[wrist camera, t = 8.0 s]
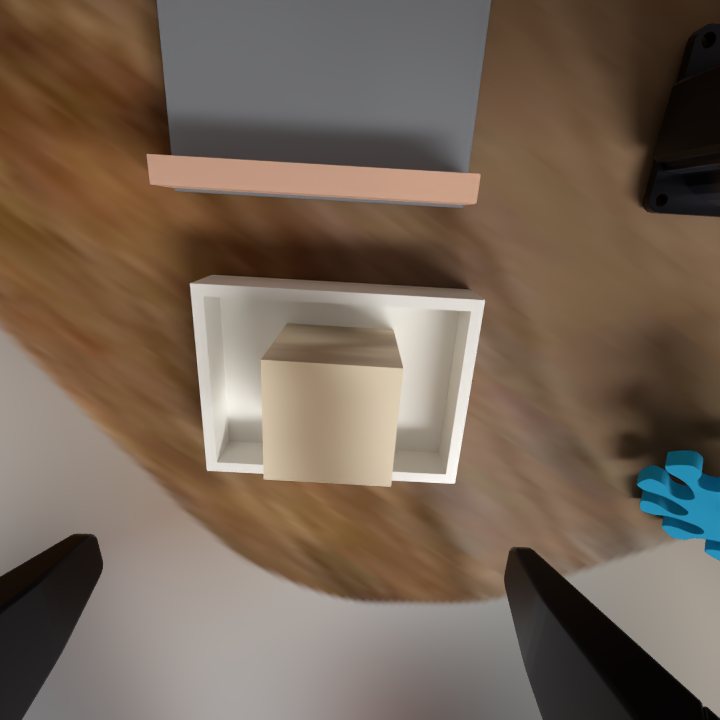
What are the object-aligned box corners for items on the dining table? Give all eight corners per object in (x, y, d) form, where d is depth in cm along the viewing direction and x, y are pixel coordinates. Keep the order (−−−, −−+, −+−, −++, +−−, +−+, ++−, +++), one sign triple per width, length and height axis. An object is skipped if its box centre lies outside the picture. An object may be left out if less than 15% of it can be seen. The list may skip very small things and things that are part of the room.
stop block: (393, 329, 19) (403, 368, 14) (384, 423, 20) (391, 486, 16) (287, 323, 19) (260, 359, 14) (287, 417, 20) (263, 479, 16)
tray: (469, 289, 18) (485, 300, 16) (444, 454, 22) (454, 483, 19) (212, 274, 18) (189, 283, 16) (224, 442, 21) (207, 470, 19)
